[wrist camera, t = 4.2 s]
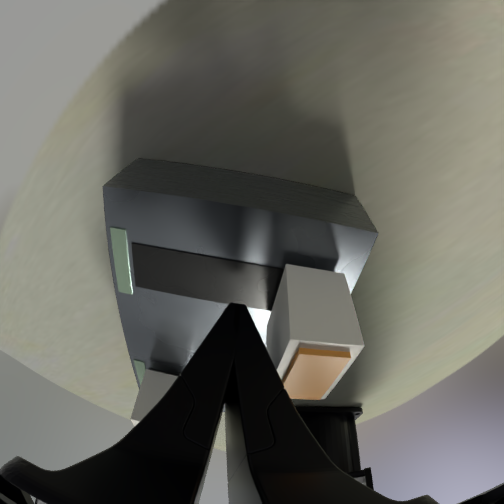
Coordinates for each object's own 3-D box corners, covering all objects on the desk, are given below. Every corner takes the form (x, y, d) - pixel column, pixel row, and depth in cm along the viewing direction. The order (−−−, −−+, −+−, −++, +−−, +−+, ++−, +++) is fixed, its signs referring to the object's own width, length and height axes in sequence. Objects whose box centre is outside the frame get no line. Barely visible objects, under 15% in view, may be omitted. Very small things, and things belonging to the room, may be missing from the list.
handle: (183, 377, 14) (172, 429, 11) (184, 401, 15) (175, 445, 13) (145, 368, 13) (130, 418, 11) (151, 394, 15) (140, 437, 13)
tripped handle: (344, 273, 9) (366, 351, 7) (316, 332, 11) (324, 404, 8) (285, 263, 9) (290, 345, 7) (266, 326, 11) (264, 400, 8)
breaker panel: (355, 195, 11) (379, 234, 9) (278, 380, 19) (278, 418, 17) (137, 158, 11) (102, 186, 8) (152, 359, 19) (141, 395, 16)
